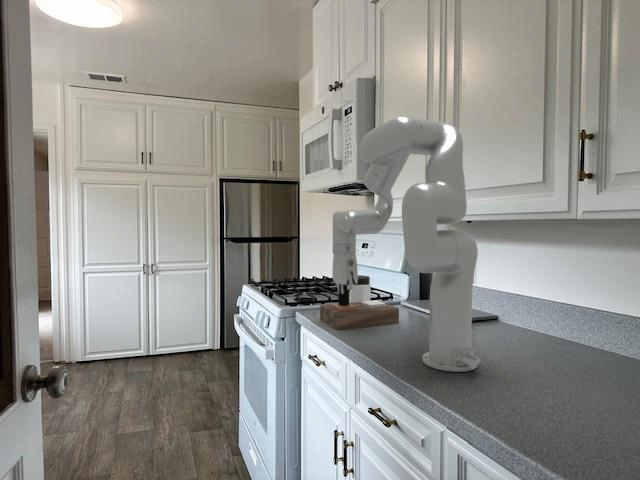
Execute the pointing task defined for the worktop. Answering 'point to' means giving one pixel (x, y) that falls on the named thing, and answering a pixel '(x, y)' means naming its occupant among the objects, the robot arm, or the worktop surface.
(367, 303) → the offwhite key
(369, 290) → the jar
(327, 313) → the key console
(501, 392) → the worktop surface
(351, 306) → the terracotta key
